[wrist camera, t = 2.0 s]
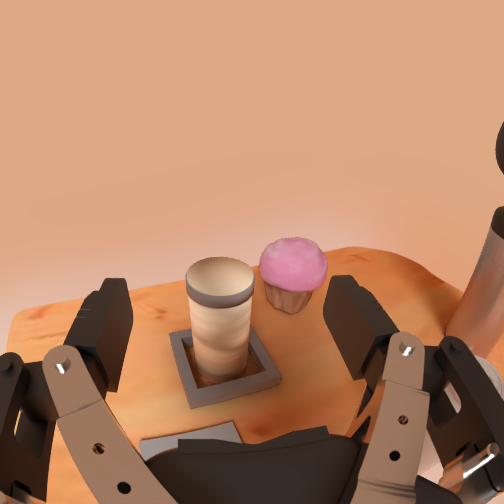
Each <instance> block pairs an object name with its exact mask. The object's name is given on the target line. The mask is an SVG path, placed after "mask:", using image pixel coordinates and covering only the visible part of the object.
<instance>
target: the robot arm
mask: <svg viewBox="0 0 504 504" xmlns="http://www.w3.org/2000/svg"><path fill="white" fill-rule="evenodd" d="M496 159H497V163H498V166H499V168H500V170H501V171H502V173H503V174H504V122H503V124H502V126H501V128H500V131H499V133H498V137H497V141H496ZM323 316H324V320H325V322H326V324H327V326H328V328H329V330H330V332H331V334H332V336H333V339H334V341H335V343H336V345H337V347H338V349H339V351H340V353H341V355H342V357H343V359H344V361H345V363H346V365H347V368H348V370H349V372H350V374H351V376H352V378H353V380H359V379H363V378H365V380H366V384H365V386H364V388H363V391H362V394H361V398H360V401H359V404H358V407H357V409H356V412H355V415H354V418H353V421H352V423H351V426H350V428H349V429H348V431H347V433H346V435H345V436H342V435H336V434H329V433H328V430H327V427H326V426H321V427H316V428H311V429H305V430H299V431H293V432H290V433H288V434H285V435H282V436H280V437H277V438H274V439H272V440H269V441H266V442H263V443H260V444H255V445H253V444H245V443H238V442H231V441H225V440H219V439H178V447H177V448H172V449H169V450H166V451H163V452H160V453H158V454H156V455H154V456H152V457H151V458H149V459H148V460H146V461H145V459H144V458H143V457H142V455H141V454H140V453H139V451H138V450H137V449H136V447H135V446H134V445H133V443H132V442H131V440H130V439H129V438H128V436H127V435H126V433H125V432H124V430H123V429H122V427H121V425H120V424H119V422H118V421H117V419H116V418H115V416H114V414H113V413H112V411H111V409H110V408H109V406H108V404H107V403H106V401H105V397H106V393H107V391H108V392H117V390H118V385H119V380H120V375H121V371H122V366H123V362H124V358H125V353H126V349H127V345H128V341H129V337H130V333H131V330H132V326H133V310H132V306H131V301H130V297H129V292H128V288H127V283H126V280H125V279H124V278H106V279H105V280H104V282H103V284H102V286H101V288H100V290H99V291H93V292H92V293H91V294H90V295H88V296H87V297H86V298H85V300H84V302H83V304H82V305H81V307H80V310H79V311H78V313H77V317H76V318H75V320H74V322H73V324H72V326H71V328H70V330H69V332H68V335H67V337H66V339H65V341H64V344H63V345H61V346H57V347H55V348H53V349H51V350H50V351H49V352H48V353H47V354H46V355H45V357H44V359H43V361H39V362H31V363H24V362H23V360H22V359H21V357H20V356H19V355H18V354H16V353H13V352H8V353H5V354H3V355H1V356H0V504H46V496H47V482H48V471H49V463H50V455H51V448H52V442H53V436H54V430H55V425H56V421H57V425H58V428H59V430H60V432H61V435H62V437H63V439H64V441H65V444H66V446H67V448H68V450H69V452H70V454H71V456H72V458H73V460H74V462H75V464H76V466H77V468H78V469H79V471H80V473H81V475H82V477H83V478H84V480H85V482H86V484H87V485H88V487H89V489H90V490H91V492H92V494H93V495H94V497H95V498H96V500H97V501H98V503H99V504H486V503H487V502H488V501H490V500H491V499H492V498H494V497H496V496H498V495H499V494H501V493H503V492H504V401H503V399H502V397H501V396H500V394H499V392H498V391H497V389H496V388H495V386H494V384H493V383H492V381H491V380H490V378H489V377H488V375H487V374H486V372H485V371H484V369H483V368H482V366H481V365H480V363H479V362H478V360H477V359H476V358H475V356H474V355H476V356H479V357H481V358H483V359H486V357H487V356H488V355H489V353H490V352H491V350H492V349H493V348H494V346H495V345H496V343H497V342H498V340H499V339H500V337H501V336H502V334H503V332H504V206H502V207H499V208H497V209H496V211H495V213H494V215H493V219H492V222H491V226H490V229H489V232H488V235H487V238H486V241H485V243H484V246H483V249H482V252H481V255H480V257H479V260H478V262H477V265H476V267H475V270H474V272H473V274H472V277H471V279H470V281H469V284H468V286H467V288H466V290H465V292H464V294H463V296H462V298H461V301H460V303H459V305H458V306H457V308H456V310H455V312H454V314H453V316H452V318H451V320H450V322H449V323H448V325H447V327H446V330H445V332H446V337H444V338H443V339H442V341H441V342H440V344H439V346H424V345H423V343H422V342H421V341H420V340H419V339H418V338H417V337H416V336H414V335H412V334H410V333H406V332H400V331H399V330H398V328H397V327H396V325H395V324H394V323H393V321H392V320H391V318H390V317H389V316H388V314H387V313H386V312H385V310H383V308H382V306H381V305H380V304H379V303H378V301H377V300H376V298H375V297H374V296H373V294H372V293H371V292H369V291H368V290H367V289H365V288H364V287H362V286H359V285H358V283H357V282H356V281H355V279H354V278H353V277H352V276H351V275H338V276H332V278H331V280H330V283H329V287H328V291H327V295H326V299H325V302H324V306H323ZM450 383H451V385H452V386H453V388H454V390H455V391H456V393H457V395H458V397H459V398H460V401H461V408H460V411H459V412H458V413H457V412H456V410H455V408H454V406H453V405H452V403H451V401H450V399H449V397H448V395H447V394H446V392H445V389H446V388H447V386H448V385H449V384H450ZM19 410H20V411H21V414H20V418H19V422H18V426H17V430H16V434H15V435H14V429H15V425H16V421H17V417H18V413H19ZM426 429H427V431H428V434H429V436H430V438H431V440H432V443H433V445H434V447H435V450H436V452H437V454H438V457H439V459H440V462H441V464H442V466H443V469H444V471H443V477H441V478H440V480H439V483H438V484H436V483H433V482H432V481H430V480H427V479H426V478H424V477H422V476H420V475H418V474H417V473H418V469H419V464H420V459H421V455H422V449H423V444H424V438H425V432H426Z"/></svg>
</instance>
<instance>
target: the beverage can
mask: <svg viewBox="0 0 504 504" xmlns="http://www.w3.org/2000/svg"><path fill="white" fill-rule="evenodd" d="M474 356H475V358H476V359H477V360H478V362H479V363H480V365H481V366H482V368H483V369H484V371H485V372H486V374H487V375H488V377H489V378H490V380H491V381H492V383H493V384H494V386H495V388H496V389H497V391H498V392H499V394H500V396H501V397H502V399H504V384H503V381H502V378H501V376H500V374H499V373H498V371H497V370H496V369H495V367H494V366H493V365H492V364H491V363H489V362H488V361H487V360H485V359H483V358H481V357H479V356H476V355H474ZM445 392H446V394H447V395H448V397H449V399H450V401H451V403H452V405H453V406H454V408H455V410H456V412H457V413H458V412H459V411H460V408H461V401H460V398H459V397H458V395H457V393H456V391H455V390H454V388H453V386H452V385H451V383H450V384H449V385H448V386H447V388H446V389H445ZM439 462H440V459H439V457H438V454H437V452H436V450H435V447H434V445H433V443H432V440H431V438H430V436H429V434H428V431H427V429H426V432H425V438H424V444H423V449H422V455H421V459H420V464H419V469H418V473H417V474H418V475H420V474H422V473H424V472H425V471H427V470H428V469H430V468H431V467H433V466H434V465H436V464H437V463H439Z"/></svg>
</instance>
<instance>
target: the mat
mask: <svg viewBox="0 0 504 504" xmlns="http://www.w3.org/2000/svg"><path fill="white" fill-rule="evenodd" d="M178 439H219V440H225V441H231V442H238V443H242V441H241V439H240V437H239V435H238V433H237V431H236V428H235V426H234V424H233V422H228V423H225V424H221V425H217V426H213V427H209V428H205V429H201V430H197V431H192V432H188V433H183V434H178V435H173V436H167V437H161V438H155V439H149V440H142V441H139V445H140V449H141V453H142V457H143V458H144V459H145V461H146V460H148V459H149V458H151V457H152V456H154V455H156V454H158V453H160V452H163V451H166V450H169V449H172V448H177V447H178Z"/></svg>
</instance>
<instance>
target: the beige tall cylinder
mask: <svg viewBox="0 0 504 504" xmlns="http://www.w3.org/2000/svg"><path fill="white" fill-rule="evenodd" d="M254 280H255V275H254V272H253V270H252V269H251V268H250V266H248V265H247V264H246V263H244V262H242V261H240V260H237V259H234V258H228V257H211V258H206V259H203V260H200V261H198V262H196V263H194V264H193V265H192V266H191V267H190V268H189V269H188V271H187V273H186V289H187V293H188V298H189V309H190V319H191V328H192V337H193V345H194V353H195V361H196V368H197V371H198V373H199V374H200V375H201V376H202V377H203V378H204V379H205V380H207V381H209V382H212V383H216V384H220V383H224V382H228V381H232V380H236V379H239V378H241V377H242V376H243V375H244V373H245V371H246V368H247V356H248V343H249V331H250V317H251V304H252V294H253V292H254Z"/></svg>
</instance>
